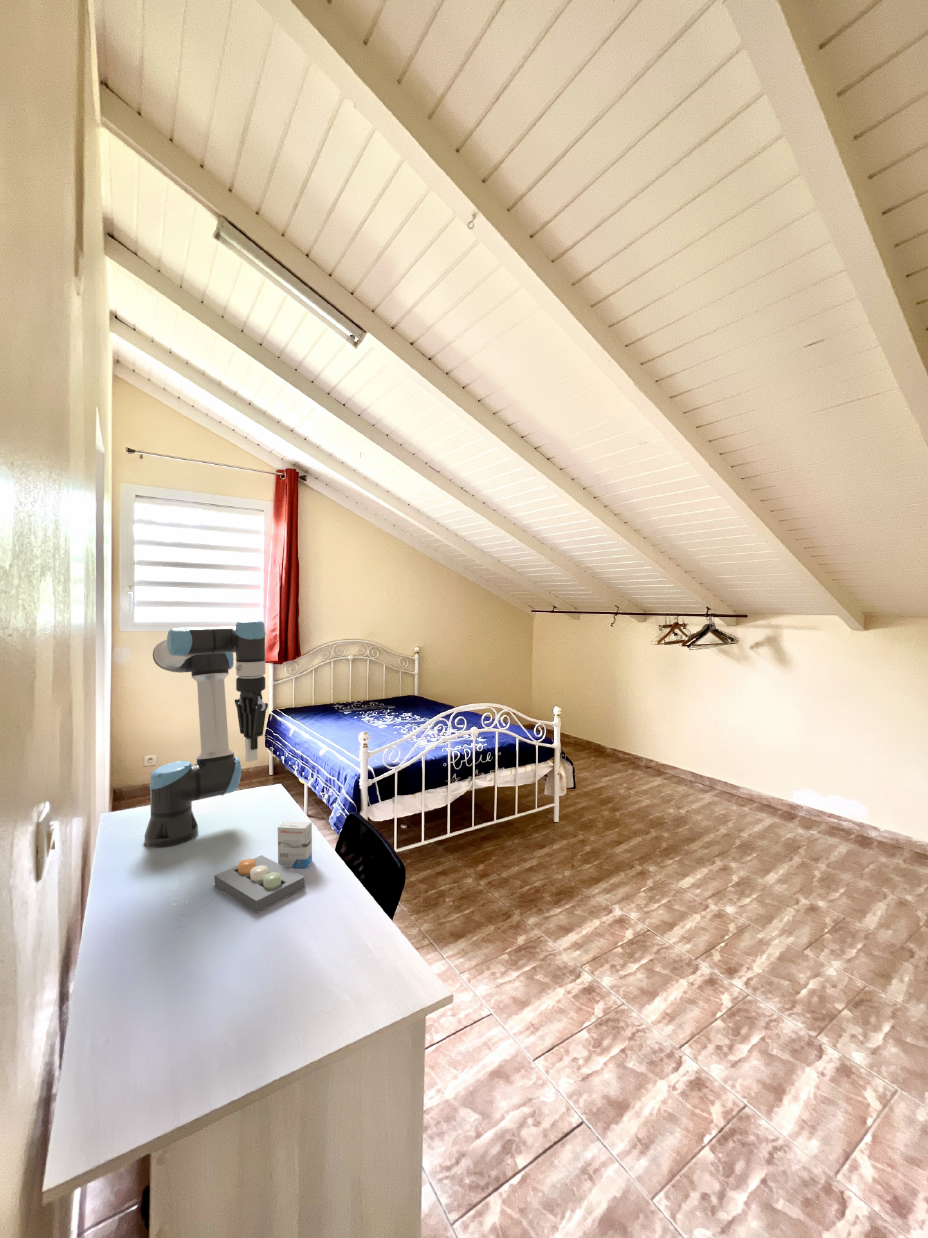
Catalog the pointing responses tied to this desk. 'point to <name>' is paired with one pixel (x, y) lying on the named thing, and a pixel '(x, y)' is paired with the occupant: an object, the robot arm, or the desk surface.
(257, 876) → the cream button
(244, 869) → the orange button
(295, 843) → the ink box
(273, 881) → the green button
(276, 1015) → the desk surface
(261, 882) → the panel
